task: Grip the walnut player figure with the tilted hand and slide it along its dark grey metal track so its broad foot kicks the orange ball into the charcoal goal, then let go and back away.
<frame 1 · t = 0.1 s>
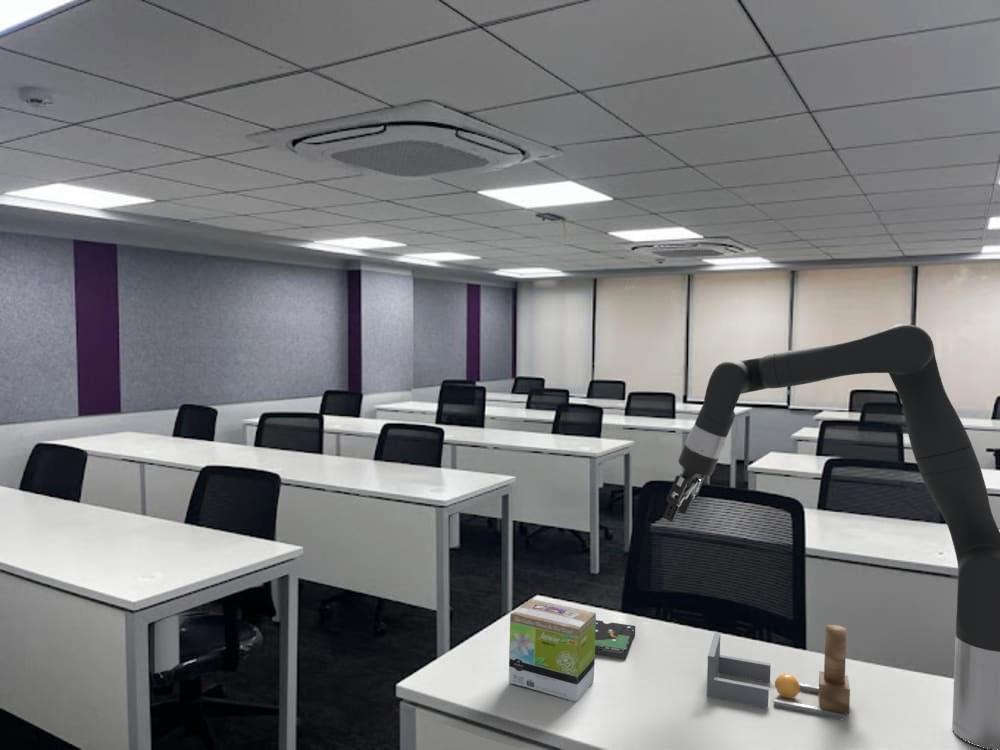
hand: (674, 515, 153), 31 cm above the table, tool tilted 20°, fingers open, 8 cm apart
goal: (742, 688, 141), on the table
track: (807, 700, 136), on the table
player: (834, 666, 134), point 8 cm above the table, slide at 0.0 cm
ball: (787, 685, 137), point 2 cm above the table
disk drive: (608, 646, 162), on the table
tea box: (551, 684, 142), on the table
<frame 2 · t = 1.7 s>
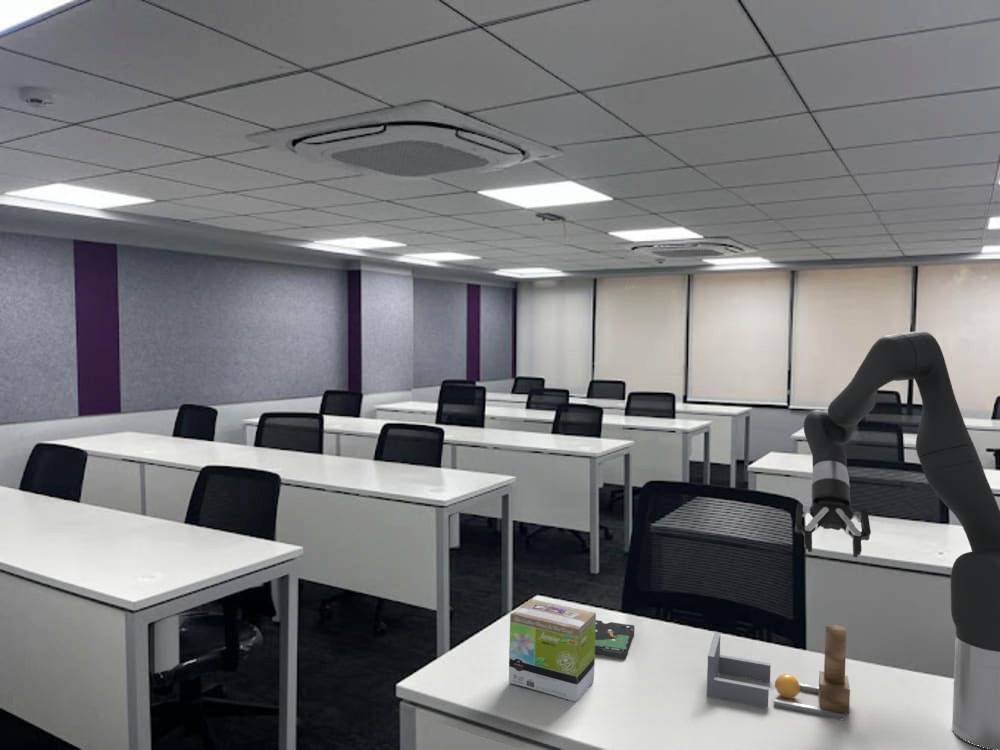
hand: (832, 552, 144), 26 cm above the table, tool tilted 45°, fingers open, 8 cm apart
nothing on the table moved.
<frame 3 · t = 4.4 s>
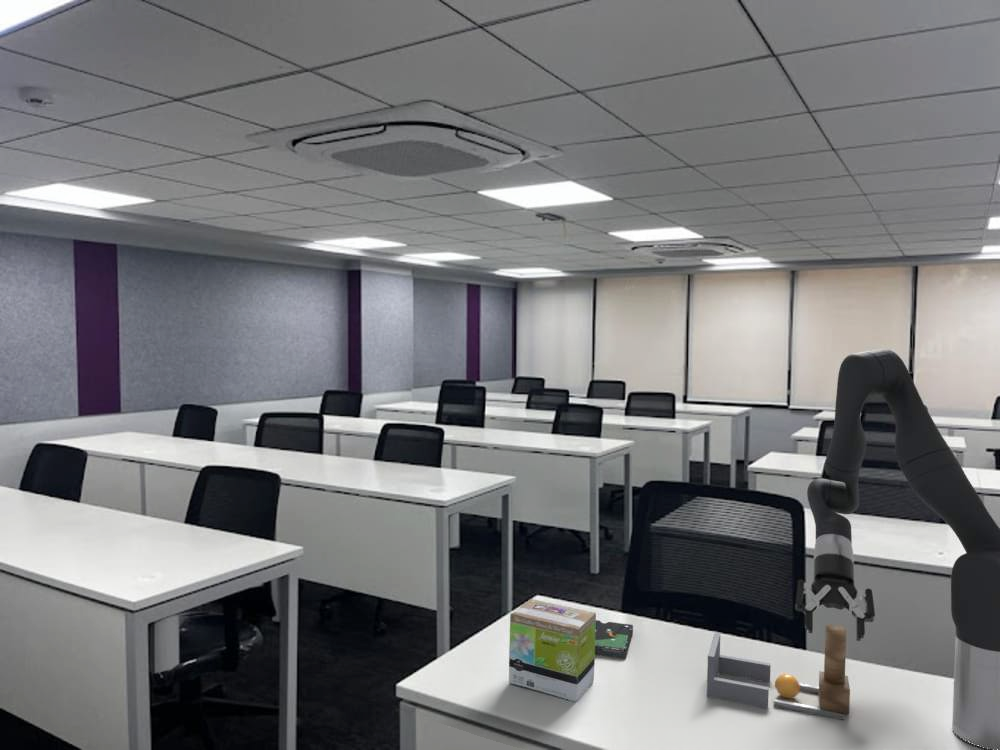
hand: (834, 635, 137), 12 cm above the table, tool tilted 45°, fingers open, 8 cm apart
nothing on the table moved.
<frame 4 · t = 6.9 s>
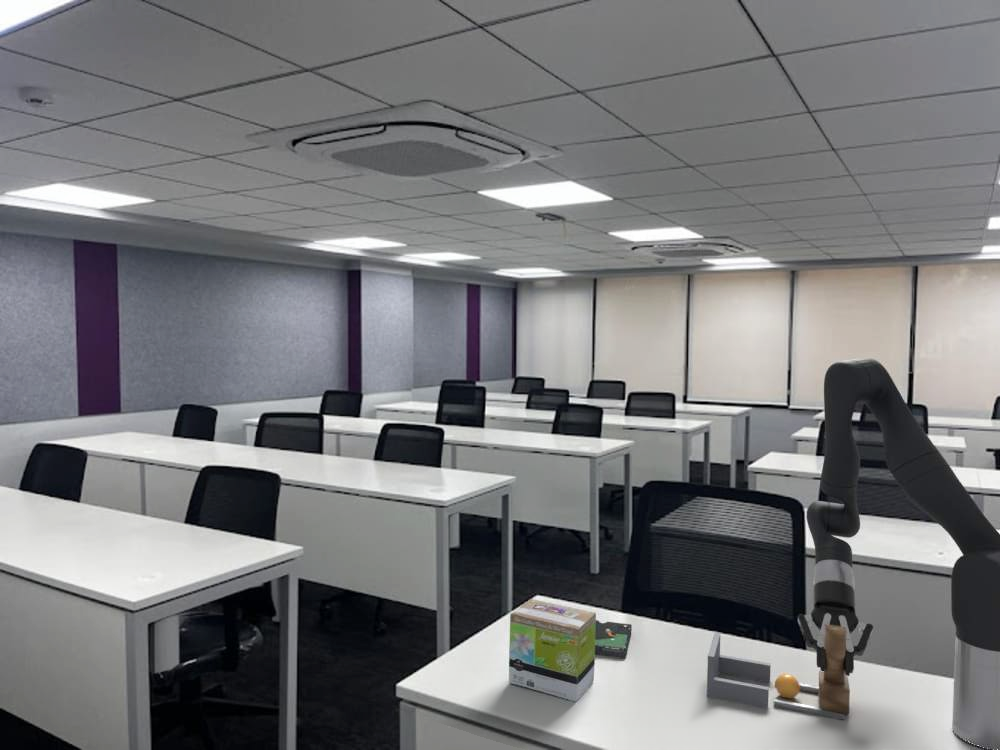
hand: (835, 671, 132), 8 cm above the table, tool tilted 45°, fingers closed on player, 3 cm apart
player: (834, 666, 134), point 8 cm above the table, slide at 0.0 cm, touching gripper
everything else where it was.
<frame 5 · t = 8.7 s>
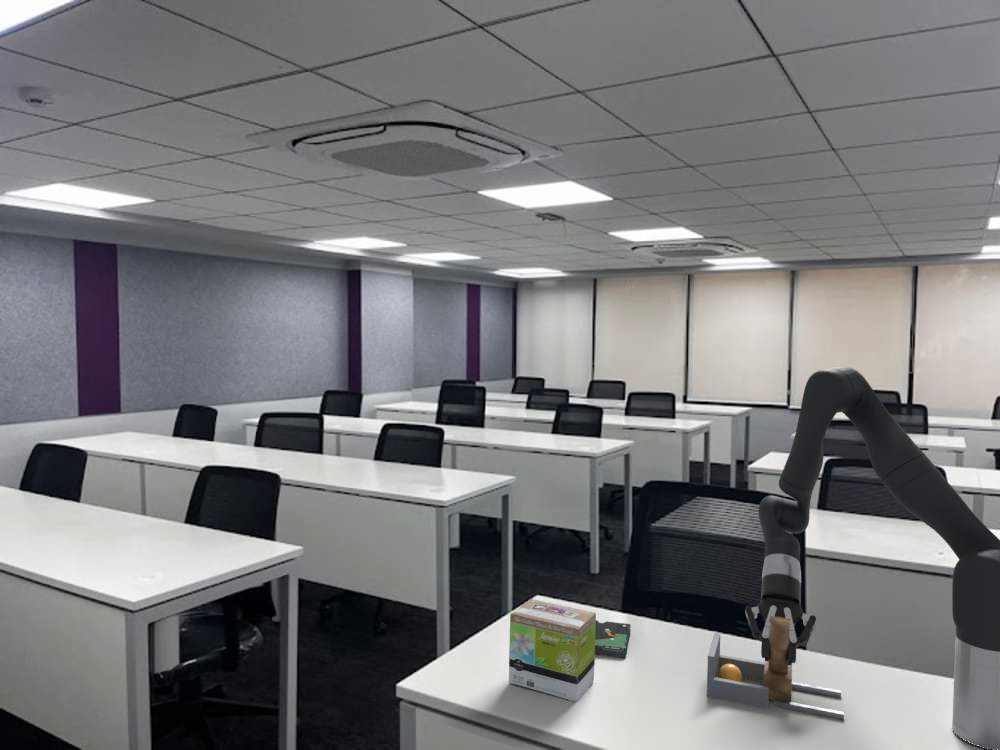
hand: (778, 661, 136), 8 cm above the table, tool tilted 45°, fingers closed on player, 3 cm apart
player: (778, 656, 138), point 8 cm above the table, slide at 10.0 cm, touching gripper
ball: (730, 675, 141), point 2 cm above the table, tilted 90°
everything else where it was.
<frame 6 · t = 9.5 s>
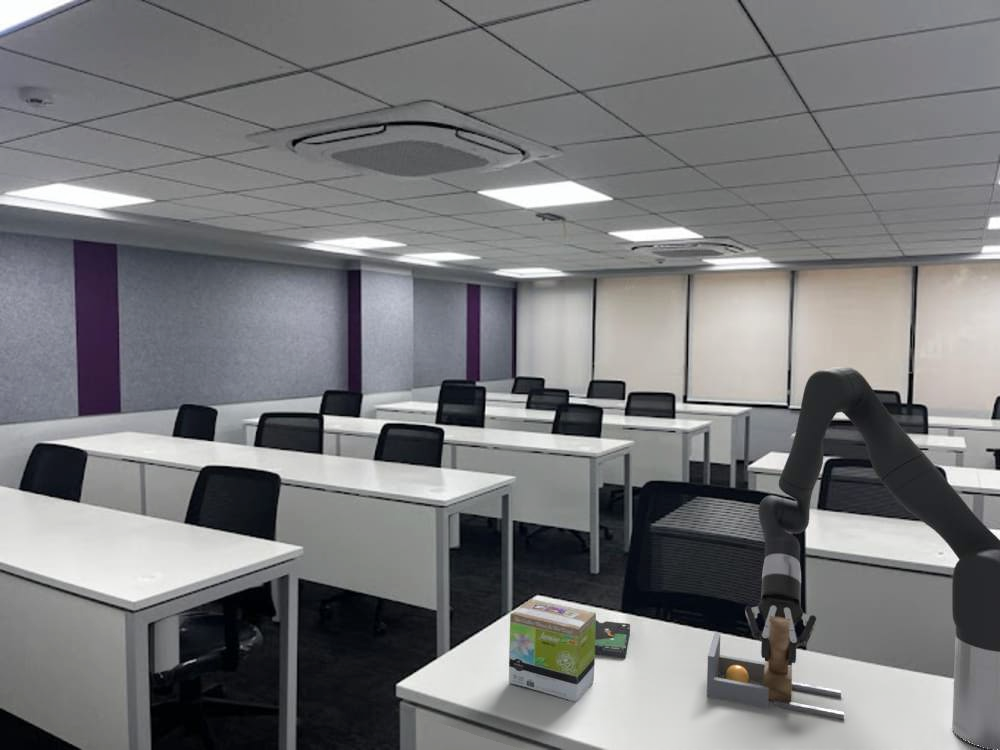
hand: (778, 661, 136), 8 cm above the table, tool tilted 45°, fingers closed on player, 3 cm apart
player: (778, 656, 138), point 8 cm above the table, slide at 10.0 cm, touching gripper
ball: (737, 676, 141), point 2 cm above the table, tilted 126°
everything else where it was.
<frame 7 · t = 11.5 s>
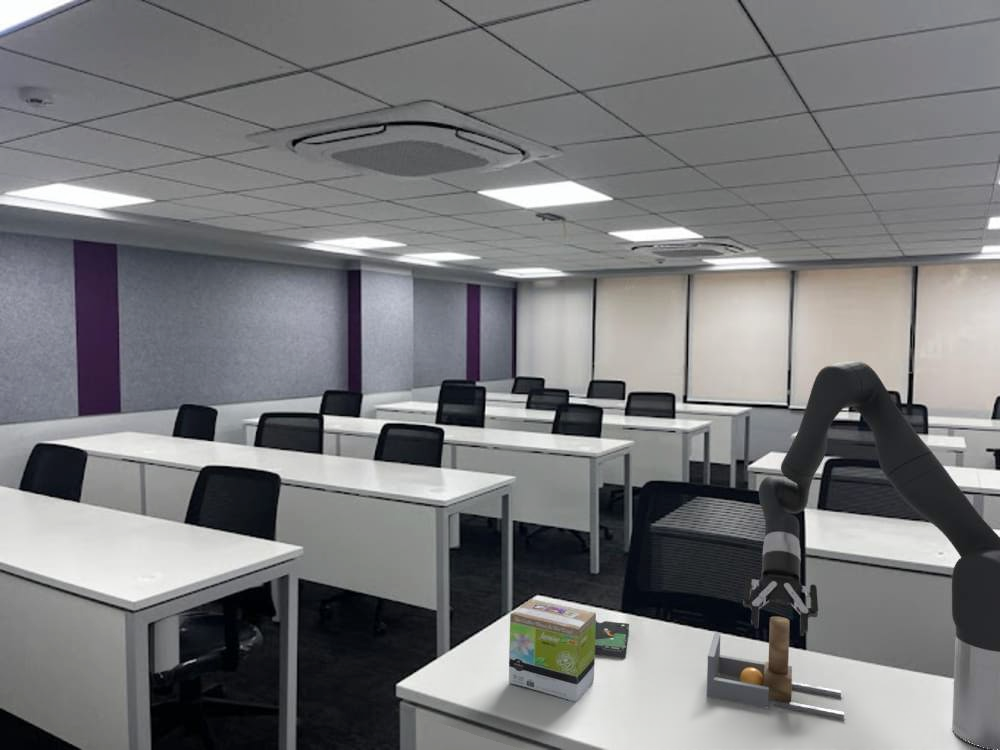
hand: (779, 630, 141), 12 cm above the table, tool tilted 45°, fingers open, 8 cm apart
player: (778, 656, 138), point 8 cm above the table, slide at 10.0 cm
ball: (751, 679, 140), point 2 cm above the table, tilted 162°
everything else where it was.
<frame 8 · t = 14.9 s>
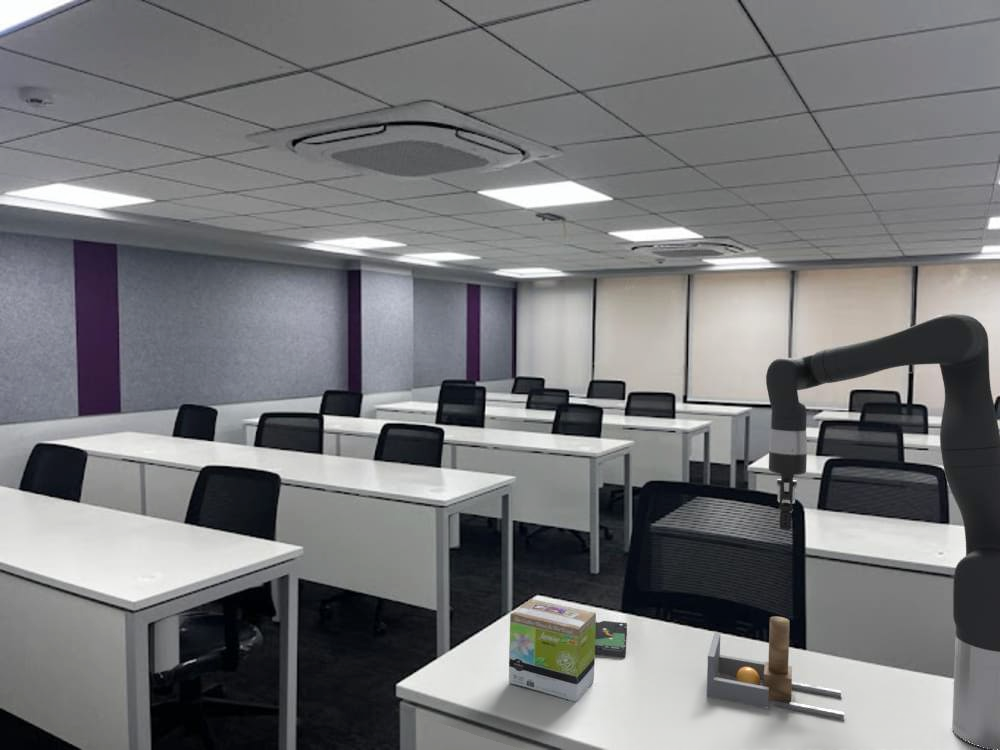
hand: (785, 524, 152), 30 cm above the table, tool pointing down, fingers open, 8 cm apart
ball: (747, 678, 140), point 2 cm above the table, tilted 178°
at the end: ball 1.0 cm from the goal (horizontally); player slide at 10.0 cm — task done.
